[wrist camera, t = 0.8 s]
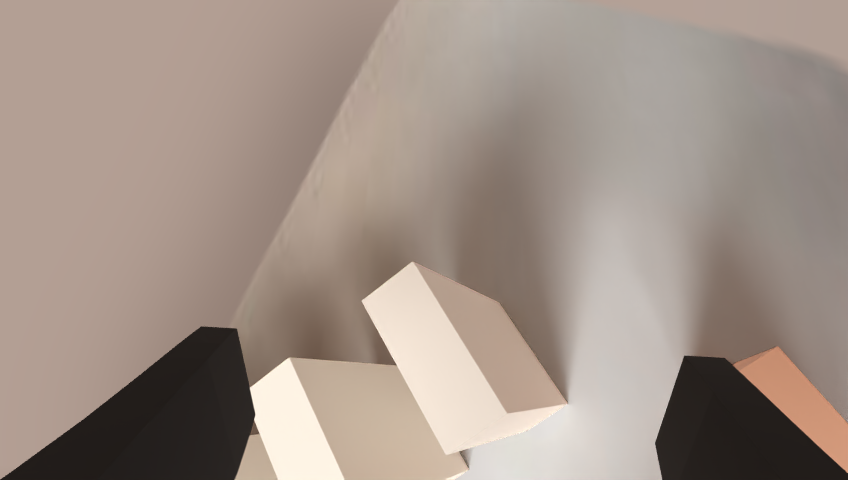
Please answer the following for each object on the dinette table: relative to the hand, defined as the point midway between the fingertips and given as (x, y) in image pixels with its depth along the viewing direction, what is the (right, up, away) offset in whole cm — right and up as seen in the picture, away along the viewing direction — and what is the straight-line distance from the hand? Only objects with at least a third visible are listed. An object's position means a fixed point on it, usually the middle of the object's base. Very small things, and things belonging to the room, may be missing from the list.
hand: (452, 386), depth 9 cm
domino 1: (-1, -6, +15) cm, 16 cm away
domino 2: (+3, -3, +14) cm, 15 cm away
